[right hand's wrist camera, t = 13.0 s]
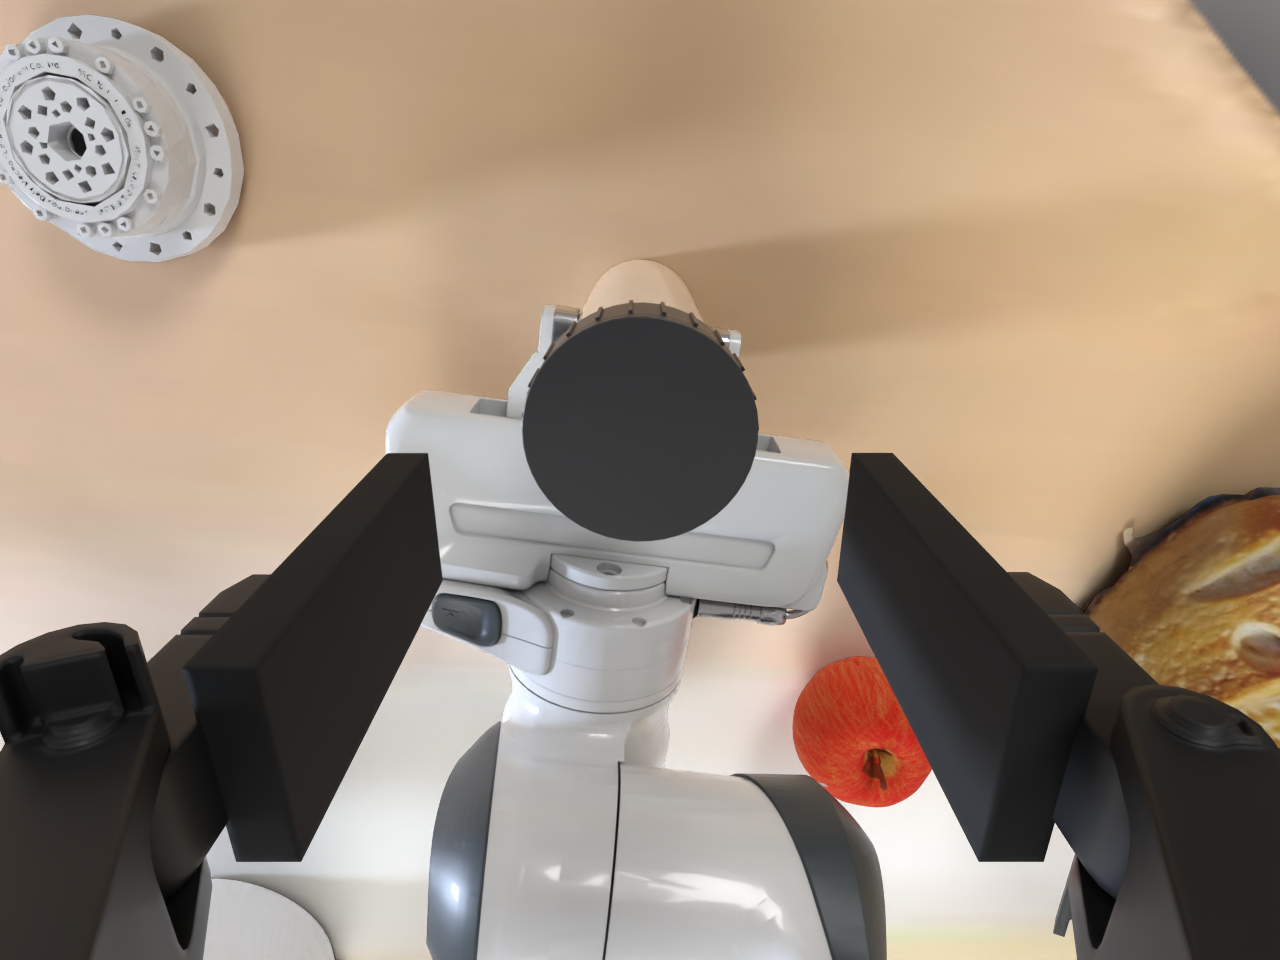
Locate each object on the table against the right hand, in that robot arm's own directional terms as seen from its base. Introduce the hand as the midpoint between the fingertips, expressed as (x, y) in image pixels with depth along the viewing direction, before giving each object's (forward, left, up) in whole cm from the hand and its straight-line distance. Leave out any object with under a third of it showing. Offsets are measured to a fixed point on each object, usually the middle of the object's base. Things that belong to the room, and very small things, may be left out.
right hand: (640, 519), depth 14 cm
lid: (0, 0, -5) cm, 5 cm away
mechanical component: (+7, -23, -24) cm, 34 cm away
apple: (+11, +24, -24) cm, 36 cm away
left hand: (-1, -1, -18) cm, 18 cm away
